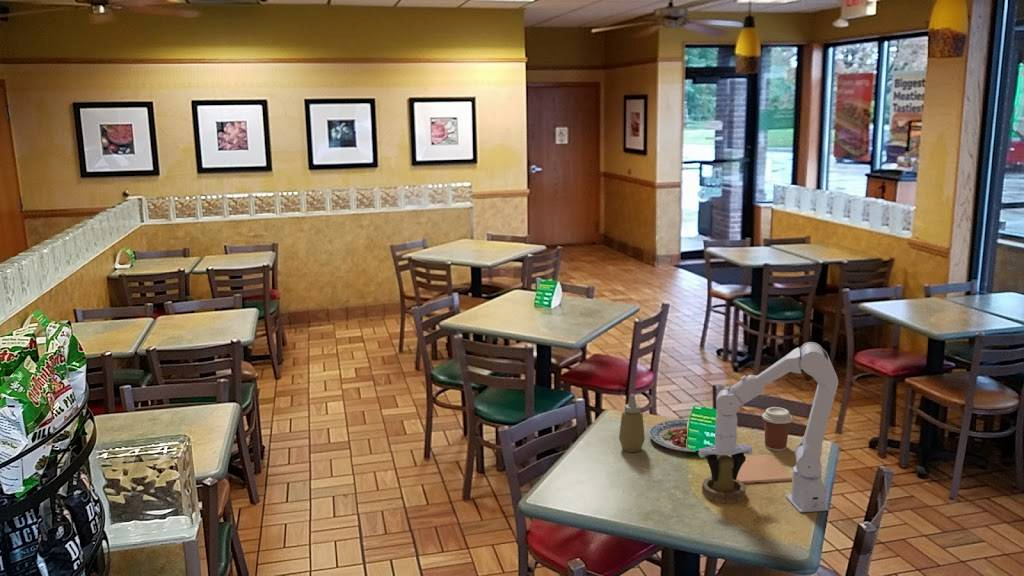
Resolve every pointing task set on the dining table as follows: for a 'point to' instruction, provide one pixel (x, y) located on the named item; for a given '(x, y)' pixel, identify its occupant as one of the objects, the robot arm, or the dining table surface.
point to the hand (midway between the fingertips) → (724, 478)
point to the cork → (724, 475)
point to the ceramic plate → (671, 434)
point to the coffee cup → (776, 428)
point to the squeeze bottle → (632, 427)
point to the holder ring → (721, 496)
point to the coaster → (761, 470)
